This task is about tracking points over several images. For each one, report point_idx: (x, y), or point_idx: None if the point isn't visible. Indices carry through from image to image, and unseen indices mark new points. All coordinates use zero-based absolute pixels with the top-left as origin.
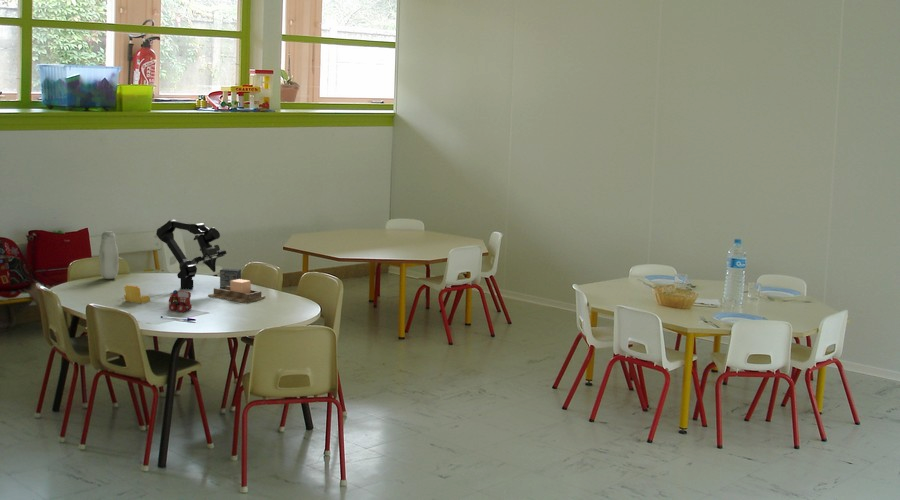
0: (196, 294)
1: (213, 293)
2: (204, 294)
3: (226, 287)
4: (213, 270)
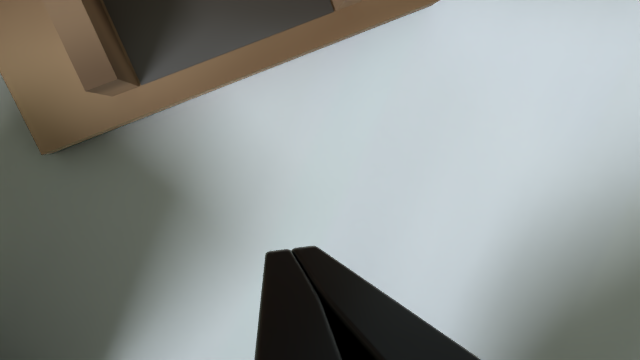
0: (495, 191)
1: (349, 31)
2: (416, 146)
3: (109, 48)
4: (342, 264)
